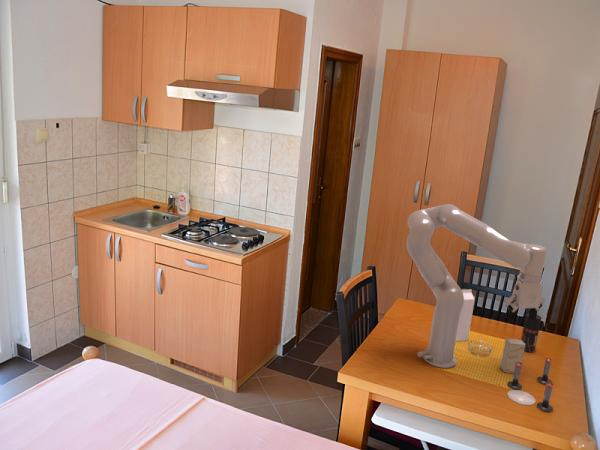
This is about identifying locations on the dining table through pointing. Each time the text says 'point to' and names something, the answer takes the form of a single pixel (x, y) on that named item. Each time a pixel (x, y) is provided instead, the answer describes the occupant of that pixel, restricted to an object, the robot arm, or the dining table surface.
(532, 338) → the deodorant
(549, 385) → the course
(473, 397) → the dining table surface
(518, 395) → the pad
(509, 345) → the skincare box
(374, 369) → the dining table surface
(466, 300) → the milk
